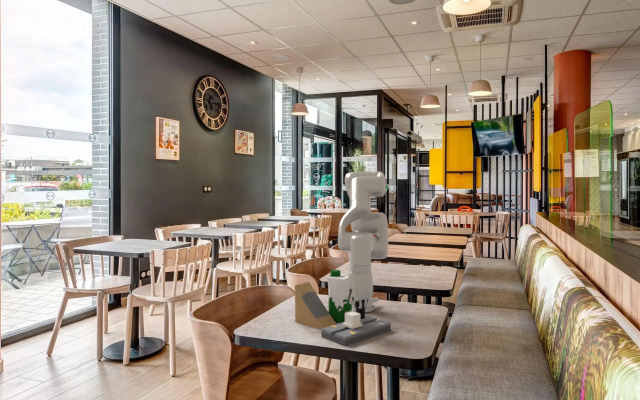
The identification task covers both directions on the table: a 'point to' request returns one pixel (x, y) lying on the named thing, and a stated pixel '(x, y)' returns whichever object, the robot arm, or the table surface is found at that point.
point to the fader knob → (352, 320)
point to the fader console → (355, 331)
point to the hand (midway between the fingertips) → (360, 318)
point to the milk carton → (338, 296)
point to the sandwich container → (310, 308)
